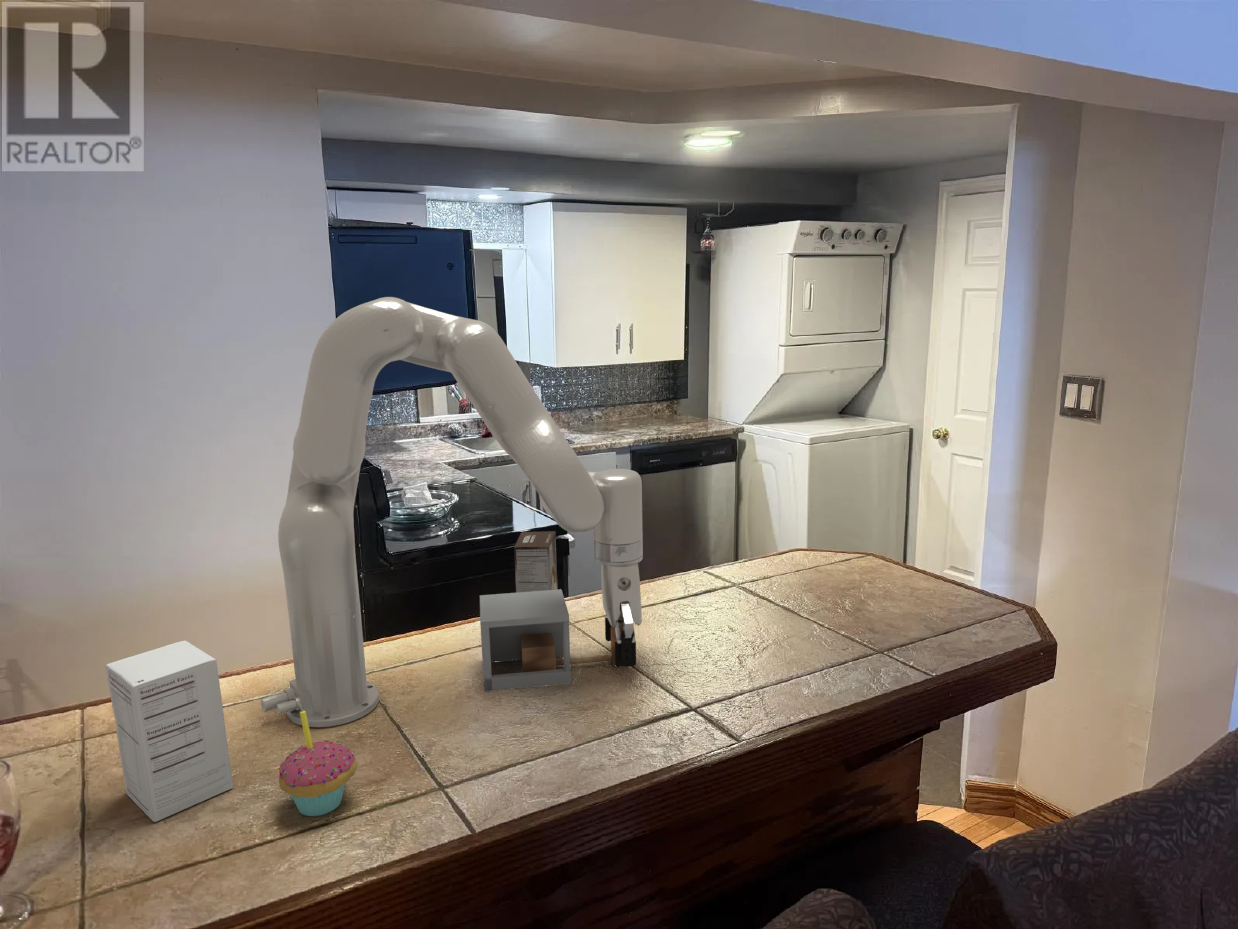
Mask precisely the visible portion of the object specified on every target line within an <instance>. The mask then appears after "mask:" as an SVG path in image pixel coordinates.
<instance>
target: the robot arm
mask: <svg viewBox="0 0 1238 929" xmlns="http://www.w3.org/2000/svg"><path fill="white" fill-rule="evenodd" d="M396 361H403V362H406V363H407V362H408V363H411V364H415V365H417V366H423V367H427V368H431V369H436V370H437V371H438V370H439V371H444V372H448V373H451V374H452V376H453V377H454V379H455V380H456V382H457V384H458V385H459V387H460V388H461V390H462V391H463V393H464V395H466V397H467V399H468V400H469V401H470V403H471V404H472V406H473V408H474V409H475V411H476V412H477V413H478V415H479V417H480V418H481V420H482V421H483V423H484V424H485V425H486V427H487V429H488V430H489V432H490V433H491V436H493V438H494V439H495V440H496V442H497V443H498V444H499V446H500V448H501V449H502V450H504V452H505V453H506V454H508V456H509V457H510V458H511V459H512V460H513V461H514V462H515V463H516V464H517V467H519V468H520V470H522V473H524V475H525V476H526V478H527V479H528V481H529V482H530V483H531V485H532V486H533V487H534V489H535V490H536V492H537V494H538V496H539V500H540V504H541V506H542V508H543V509H544V510H545V511H546V512H547V514H548V515H549V516H550V517H551V518H552V519H553V520H554V521H555V523H556V524H557V525H558V526H559V528H560V527H561V529H563V530H564V531H566V532H569V533H571V534H584V533H588V532H590V531H592V530H593V554H594V555H593V556H594V558H593V559H594V561H595V562H596V563H598V564H600V565H601V568H600V571H601V575H600V576H601V596H602V597H601V598H602V606H603V610H604V613H605V617H604V631H605V632H604V633H605V636H604V637H605V638H604V639H605V641H606V642H611V626H613V627H615V632H616V640H617V642H615V665H616V666H615V667H616V668H627V667H636V665H637V641H636V633H635V627H634V625H637V626H641V624H642V623H643V616H642V599H641V598H642V597H641V582H640V581H641V580H640V573H639V572H640V571H639V564H638V563H641V561H642V560H643V558H644V557H643V556H644V555H643V554H644V553H643V548H644V546H643V543H644V542H643V541H644V540H643V484H642V481H643V480H642V477H641V475H640V474H639V472H637V471H635V470H631V469H627V468H608V469H602V470H601V471H590V470H589V471H587V469H586V467H585V466H584V464H583V462H581V460H580V458H579V456H578V454H576V452H575V450H574V449H573V447H572V446H571V444H570V443H569V442H568V440H567V439H566V437H565V436H564V434H563V433H562V431H561V429H560V428H559V427H558V425H557V423H556V421H555V419H554V418H553V417H552V415H551V414H550V412H549V411H548V409H547V408H546V407H545V405H544V403H543V402H542V400H541V399H540V397H539V396H538V394H537V392H536V391H535V389H534V387H533V386H532V385H531V383H530V382H529V380H528V378H527V377H526V375H525V374H524V372H523V370H522V368H521V367H520V366H519V364H518V363H517V360H516V359H515V357H514V356H513V355H512V353H511V352H510V350H509V348H508V346H507V345H506V343H505V341H504V340H503V339H502V337H501V336H500V335H499V333H498V332H497V331H496V330H495V328H494V327H492V326H491V325H490V324H488V323H487V322H484V321H481V320H478V319H472V318H468V317H467V318H466V317H463V316H458V315H454V314H451V313H450V314H449V313H447V312H443V311H439V310H436V309H432V308H428V307H425V306H423V305H422V306H421V305H418V304H415V303H411V302H408V301H405V300H404V299H401V298H399V297H395V296H384V297H379V298H377V299H374V300H370V301H368V302H363V303H361V304H359V305H357V306H354V307H352V308H350V309H348V310H346V311H344V312H342V314H340V315H339V316H338V317H336V318H335V319H334V320H333V321H331V322H330V324H329V325H328V326H327V327H326V329H325V330H324V331H323V332H322V334H321V336H320V337H319V339H318V340H317V343H316V344H315V347H314V350H313V353H312V356H311V359H310V364H309V369H308V373H307V379H306V380H307V381H306V385H305V390H304V394H303V399H302V406H301V411H300V412H301V413H300V418H299V422H298V427H297V429H296V432H295V434H294V438H293V442H292V444H293V445H292V451H293V455H292V463H291V468H290V473H289V474H290V475H289V481H288V482H289V483H288V486H287V488H288V489H287V495H286V499H285V500H286V501H285V504H284V505H285V506H284V508H283V510H282V513H281V516H280V520H279V523H278V531H277V532H278V536H277V538H278V541H277V542H278V550H279V555H280V556H279V557H280V560H281V567H282V572H283V580H284V587H285V588H284V589H285V594H286V604H287V612H288V620H289V631H290V640H291V650H292V651H291V652H292V659H293V660H292V661H293V668H294V669H293V670H294V676H295V677H294V679H291V680H289V681H288V682H289V687H288V688H286V689H283V692H280V693H277V694H272V695H269V696H266V697H263V698H261V699H260V706H261V707H260V708H261V709H262V712H263V713H267V712H269V711H273V710H275V711H276V714H278V715H282V714H284V713H286V714H287V718H288V719H289V720H290V721H291V722H292V723H294V724H296V725H299V726H302V722H301V717H300V712H301V708H300V705H302V709H303V711H306V716H307V721H308V725H309V728H327V727H335V726H341V725H344V724H348V723H351V722H353V721H356V720H358V719H360V718H362V717H364V716H366V715H368V714H369V713H370V712H371V711H373V710H374V709H375V708H376V707H377V705H378V703H379V701H380V692H379V689H378V687H377V686H376V685H374V683H371V682H369V681H367V671H366V659H365V648H364V636H363V626H362V624H363V623H362V614H361V612H362V611H361V600H360V593H359V590H360V589H359V581H358V580H359V579H358V568H357V559H356V558H357V557H356V543H355V528H354V527H355V526H354V525H355V523H354V522H355V520H354V511H355V510H354V509H355V502H356V497H357V489H358V483H359V478H360V471H361V466H362V463H363V461H364V458H365V452H366V431H367V424H368V418H369V411H370V406H371V402H372V397H373V391H374V387H375V382H376V380H377V377H378V375H379V373H380V372H381V370H382V369H383V368H385V366H386V365H387V364H389V363H391V362H396ZM620 628H623V629H624V631H622V632H621V635H620Z"/></svg>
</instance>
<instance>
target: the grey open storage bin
mask: <svg viewBox="0 0 1238 929" xmlns="http://www.w3.org/2000/svg"><path fill="white" fill-rule="evenodd" d="M557 589H558V588H557ZM567 606H568V605H567V604H566V600H565V596H564V594H563V590H562V589H561V588H560V589H558V590H545V591H532V592H519V593H516V592H510V593H509V592H508V593H496V594H493V593H492V594H483V595H482V594H481V595H479V617H480V620H479V623H480V640H481V661H482V675H483V676H482V677H483V692H484V691H485V692H493V691H494V690H496V691H504V690H503V689H506V690H512V689H511V688H517V689H525V688H526V687H527V688H534V687H535V688H538V687H546V686H545V685H549V686H556V685H555V684H559V685H569V684H572V671H571V665H570V658H571V649H570V645H571V644H570V613H569V610H568V608H567ZM544 633H552V636H553V640H554V645H555V658H558V657H563V658H562V659H563V661H564V665H563V668H558V669H557V668H556V670H545V671H534V672H515V673H514V672H513V673H503V674H492V663H496V662H495V661H502V662H510V661H521V642H520V636H521V635H532V634H544ZM557 656H558V657H557ZM537 686H538V687H537Z"/></svg>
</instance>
